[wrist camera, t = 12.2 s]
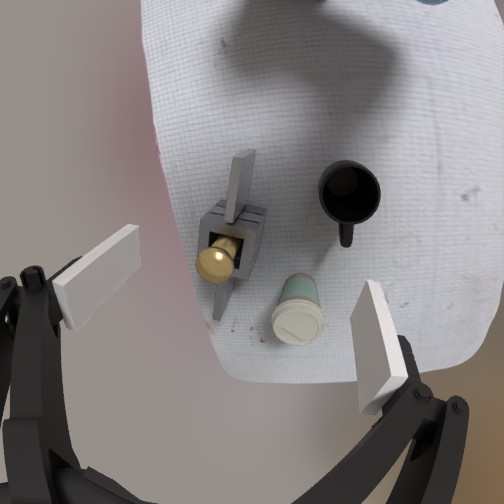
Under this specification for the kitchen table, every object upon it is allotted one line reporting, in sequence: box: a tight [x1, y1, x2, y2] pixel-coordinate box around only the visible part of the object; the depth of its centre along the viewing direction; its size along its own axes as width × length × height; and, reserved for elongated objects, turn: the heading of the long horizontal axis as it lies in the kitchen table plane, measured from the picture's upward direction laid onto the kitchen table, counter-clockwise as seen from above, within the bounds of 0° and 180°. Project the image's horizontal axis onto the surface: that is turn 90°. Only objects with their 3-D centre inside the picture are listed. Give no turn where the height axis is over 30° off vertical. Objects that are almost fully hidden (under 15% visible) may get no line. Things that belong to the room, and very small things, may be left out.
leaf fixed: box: [197, 200, 267, 321], centre depth 46 cm, size 17×8×10 cm, turn 171°
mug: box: [319, 160, 381, 248], centre depth 38 cm, size 8×12×10 cm
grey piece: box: [209, 149, 264, 267], centre depth 42 cm, size 17×8×10 cm, turn 171°
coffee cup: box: [271, 273, 325, 346], centre depth 47 cm, size 8×8×12 cm
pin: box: [196, 234, 244, 284], centre depth 42 cm, size 5×5×15 cm
